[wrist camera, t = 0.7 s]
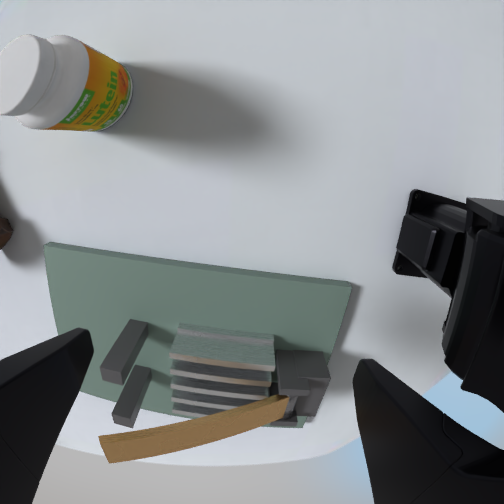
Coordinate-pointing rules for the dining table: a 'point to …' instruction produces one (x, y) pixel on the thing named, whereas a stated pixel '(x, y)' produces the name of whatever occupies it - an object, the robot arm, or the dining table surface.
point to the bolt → (5, 232)
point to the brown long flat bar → (196, 430)
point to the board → (184, 309)
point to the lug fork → (127, 372)
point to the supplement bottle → (61, 84)
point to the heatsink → (219, 369)
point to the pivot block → (300, 382)
